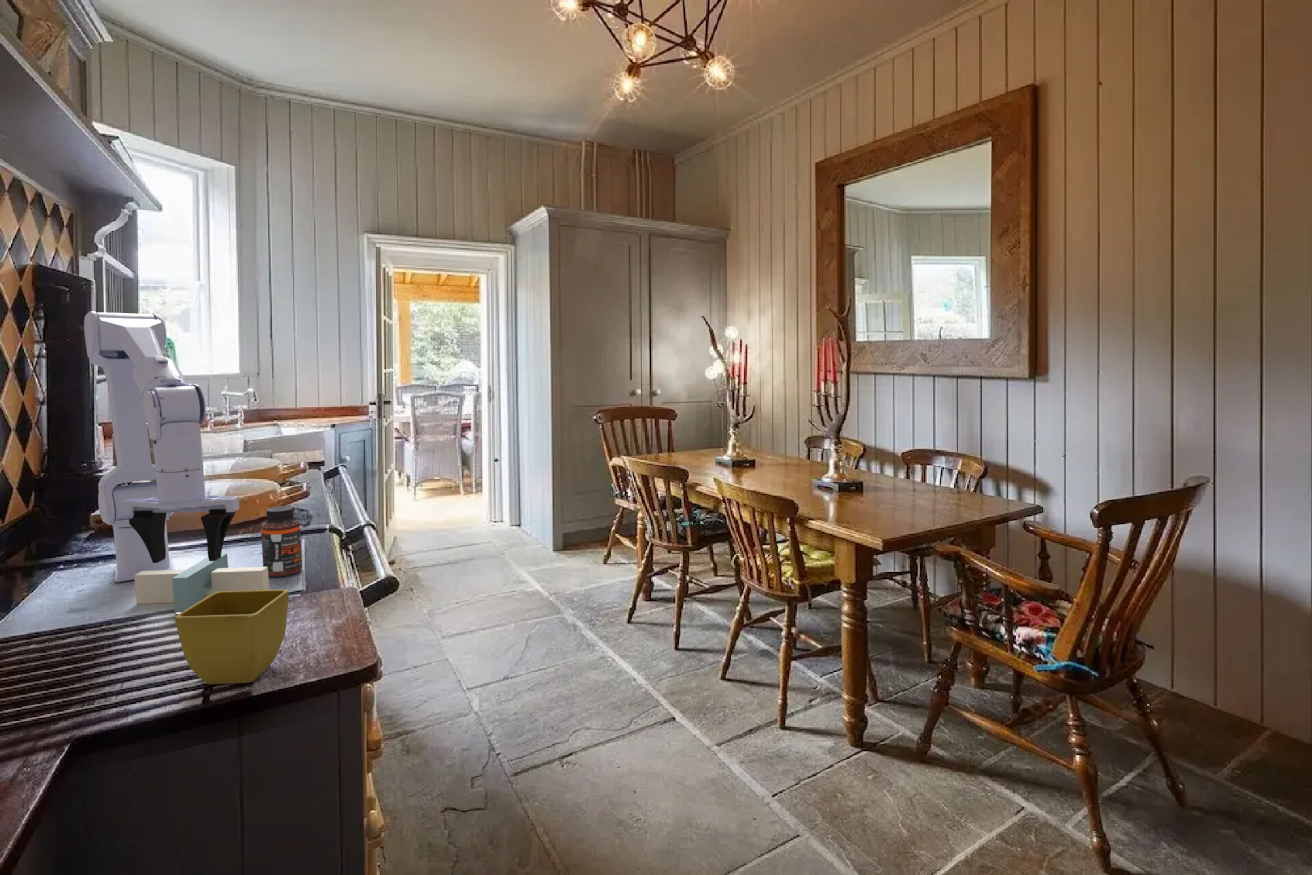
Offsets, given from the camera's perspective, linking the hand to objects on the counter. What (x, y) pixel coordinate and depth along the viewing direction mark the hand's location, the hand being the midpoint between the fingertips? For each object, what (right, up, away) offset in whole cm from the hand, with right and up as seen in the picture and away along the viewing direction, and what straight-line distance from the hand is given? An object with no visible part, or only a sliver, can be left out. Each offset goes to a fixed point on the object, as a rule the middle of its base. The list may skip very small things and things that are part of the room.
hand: (187, 560), depth 101 cm
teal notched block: (0, -7, +4) cm, 8 cm away
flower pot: (+20, -10, -20) cm, 30 cm away
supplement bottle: (+5, -6, +17) cm, 19 cm away
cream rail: (0, -7, +5) cm, 8 cm away
